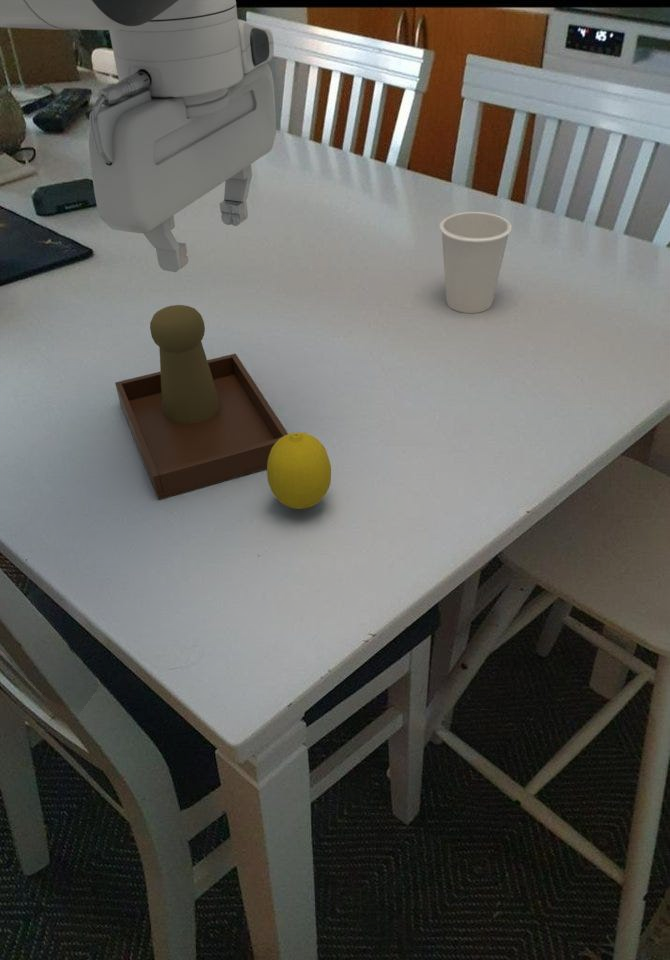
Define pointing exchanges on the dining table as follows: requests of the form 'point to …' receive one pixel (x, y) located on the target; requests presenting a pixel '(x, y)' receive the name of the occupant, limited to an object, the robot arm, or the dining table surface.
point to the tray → (201, 431)
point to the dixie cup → (473, 258)
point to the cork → (184, 365)
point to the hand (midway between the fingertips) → (206, 243)
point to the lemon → (298, 470)
